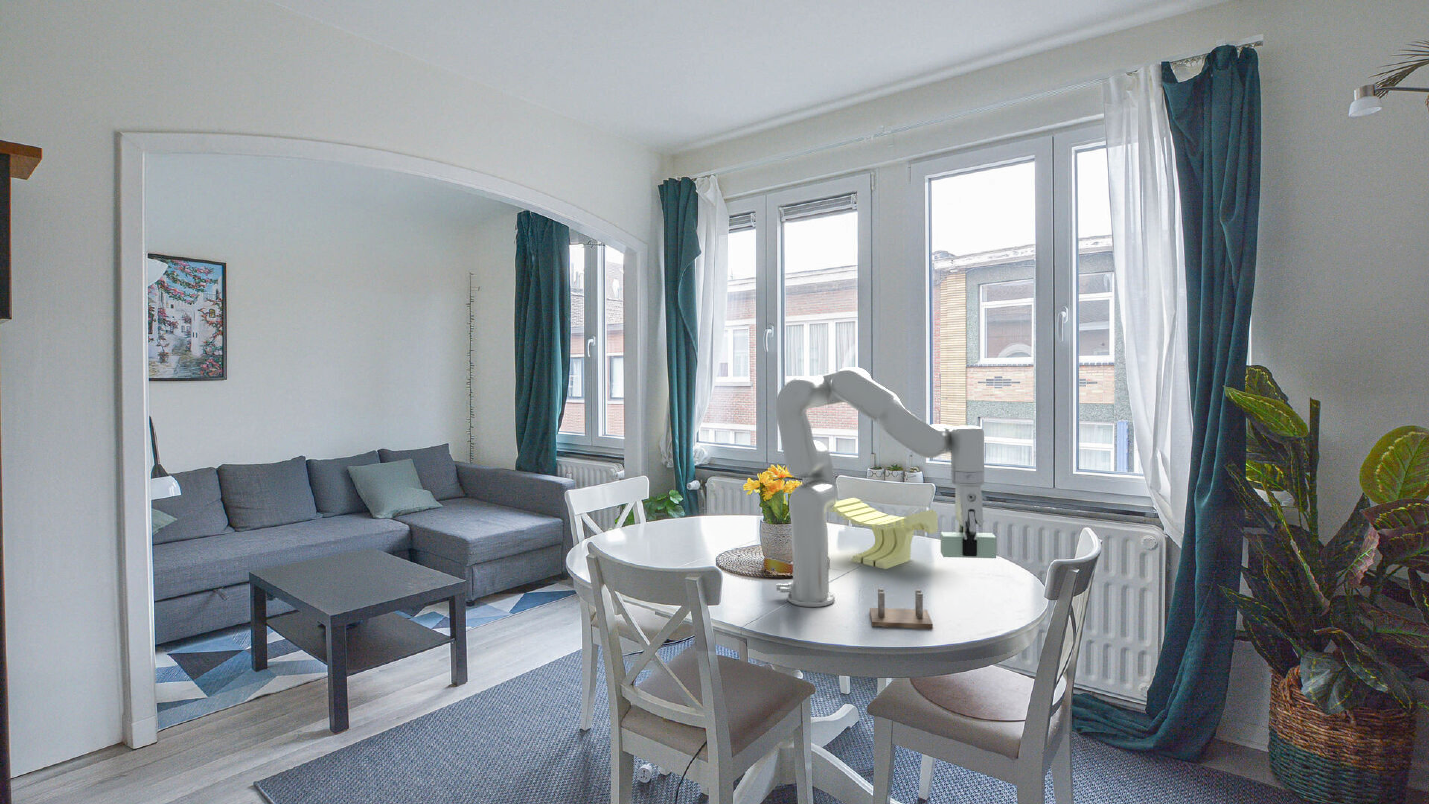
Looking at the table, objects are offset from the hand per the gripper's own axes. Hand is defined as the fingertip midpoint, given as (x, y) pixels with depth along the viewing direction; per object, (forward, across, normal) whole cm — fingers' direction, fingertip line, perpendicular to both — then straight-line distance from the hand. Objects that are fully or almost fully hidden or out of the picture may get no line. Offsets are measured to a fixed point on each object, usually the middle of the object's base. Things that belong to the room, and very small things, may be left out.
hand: (967, 552), depth 171 cm
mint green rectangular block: (+1, 0, 0) cm, 1 cm away
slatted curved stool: (+18, +55, +16) cm, 60 cm away
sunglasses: (+18, +42, +46) cm, 64 cm away
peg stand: (+17, 0, +16) cm, 23 cm away
